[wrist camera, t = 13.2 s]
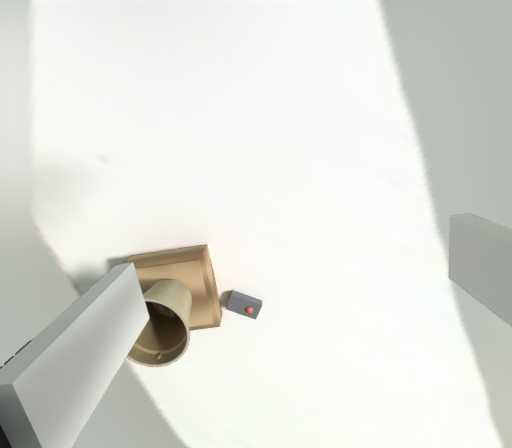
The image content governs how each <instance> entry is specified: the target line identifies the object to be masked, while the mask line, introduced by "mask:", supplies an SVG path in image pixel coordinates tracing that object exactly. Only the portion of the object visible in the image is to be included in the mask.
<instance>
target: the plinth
mask: <svg viewBox="0 0 512 448" xmlns="http://www.w3.org/2000/svg"><path fill="white" fill-rule="evenodd" d="M131 262H133V264H134V267H135V270H136V274H137V277H138V280H139V284H140V287H141V291H142V294H144V293H145V292H146V291H148V290H149V289H150V288H151V287H152V286H153V285H154V284H155V283H157V282H159V281H161V280H167V279H169V280H177V281H180V282H181V283H183V284H184V285H186V287H187V288H188V289H189V290H190V292H191V296H192V305H191V310H190V315H189V321H188V327H189V330H197V329H205V328H213V327H220V322H221V318H222V309H221V305H220V300H219V296H218V291H217V287H216V282H215V278H214V273H213V268H212V264H211V259H210V255H209V250H208V246H207V245H200V246H193V247H187V248H180V249H173V250H166V251H160V252H153V253H146V254H139V255H133V256H130V257H129V258H128V259H127V260H126V261H125V262H123V263H122V264H125V263H131ZM157 307H158V308H159V309H160V310H161V311H164V309H163V308H162V307H160V306H159V305H158V306H157Z"/></svg>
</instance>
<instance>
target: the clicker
mask: <svg viewBox="0 0 512 448" xmlns="http://www.w3.org/2000/svg"><path fill="white" fill-rule="evenodd" d="M261 307H262V301H261V300H259V299H256V298H253V297H250V296H248V295H245V294H242V293H239V292H237V291H234V290H232V293H231V295H230V297H229V300H228V302H227V305H226V309H228V310H231V311H234V312H236V313H239V314H242V315H245V316H248V317H250V318H253V319H256V318H257V316H258V313H259V311H260V309H261Z"/></svg>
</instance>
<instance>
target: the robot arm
mask: <svg viewBox="0 0 512 448" xmlns="http://www.w3.org/2000/svg"><path fill="white" fill-rule="evenodd" d="M449 279H451V280H452V281H453V282H455V283H456V284H457V285H459V286H460V287H461V288H462V289H464V290H465V291H466V292H467V293H469V294H470V295H471V296H473V297H474V298H475V299H476V300H478V301H479V302H480V303H482V304H483V305H484V306H486V307H487V308H488V309H489V310H491V311H492V312H493V313H494V314H496V315H497V316H498V317H500V318H501V319H502V320H503V321H505V322H506V323H507V324H509V325H510V326H511V327H512V229H510V228H507V227H505V226H502V225H499V224H497V223H494V222H492V221H489V220H487V219H484V218H481V217H479V216H476V215H474V214H471V213H465V214H458V215H451V216H450V218H449ZM149 318H150V317H149V314H148V311H147V307H146V304H145V301H144V297H143V294H142V291H141V287H140V284H139V280H138V277H137V274H136V270H135V267H134V264H133V262H131V263H125V264H118V265H115V266H114V267H113V268H112V269H111V270H110V271H108V272H107V273H106V274H105V275H104V276H103V277H102V278H101V279H100V280H98V281H97V282H96V283H95V284H94V285H93V286H92V287H91V288H90V289H88V290H87V291H86V292H85V293H84V294H83V295H82V296H81V297H80V298H78V299H77V300H76V301H75V302H74V303H73V304H72V305H71V306H70V307H69V308H67V309H66V310H65V311H64V312H63V313H62V314H61V315H60V316H59V317H57V318H56V319H55V320H54V321H53V322H52V323H51V324H50V325H49V326H48V327H46V328H45V329H44V330H43V331H42V332H41V333H40V334H39V335H38V336H36V337H35V338H34V339H33V340H31V341H29V342H28V343H27V344H26V345H25V346H23V347H22V348H21V349H20V350H19V351H18V352H17V353H16V354H15V356H12V357H11V358H10V359H9V360H8V361H7V362H5V363H4V366H1V367H0V448H71V447H72V445H73V444H74V442H75V440H76V439H77V437H78V435H79V434H80V432H81V430H82V429H83V427H84V425H85V424H86V422H87V420H88V419H89V417H90V416H91V414H92V412H93V410H94V409H95V407H96V406H97V404H98V402H99V401H100V399H101V397H102V395H103V394H104V392H105V391H106V389H107V388H108V386H109V384H110V383H111V381H112V379H113V378H114V376H115V374H116V373H117V371H118V369H119V368H120V366H121V365H122V363H123V361H124V360H125V358H126V356H127V355H128V353H129V351H130V350H131V348H132V346H133V345H134V343H135V341H136V340H137V338H138V337H139V335H140V333H141V332H142V330H143V328H144V327H145V325H146V323H147V322H148V320H149Z"/></svg>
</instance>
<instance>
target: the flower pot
mask: <svg viewBox="0 0 512 448" xmlns="http://www.w3.org/2000/svg"><path fill="white" fill-rule="evenodd" d="M143 297H144V301H145V304H146V307H147V311H148V314H149V317H150V318H149V320H148V322H147V323H146V325H145V327H144V328H143V330H142V332H141V333H140V335H139V337H138V338H137V340H136V341H135V343H134V345H133V346H132V348H131V350H130V351H129V353H128V355H127V356H126V358H128V359H129V360H131V361H133V362H135V363H137V364H140V365H144V366H148V367H162V366H166V365H169V364H172V363H173V362H175V361H177V360H178V359H179V358H181V356H182V355H183V354H184V353H185V352H186V350H187V348H188V345H189V341H190V330H189V327H188V321H189V315H190V310H191V305H192V296H191V292H190V290H189V289H188V288H187V287H186V285H184V284H183V283H181V282H180V281H177V280H169V279H167V280H161V281H159V282H157V283H155V284H154V285H153V286H152V287H151V288H150V289H149V290H148V291H146V292H145V293H144V294H143ZM158 305H159V306H160V307H162V308H163V309H164V311H161V310H160V309H159V308H158V307H157V306H158Z"/></svg>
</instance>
